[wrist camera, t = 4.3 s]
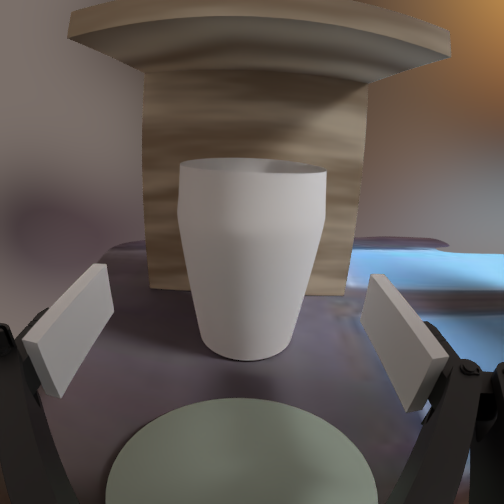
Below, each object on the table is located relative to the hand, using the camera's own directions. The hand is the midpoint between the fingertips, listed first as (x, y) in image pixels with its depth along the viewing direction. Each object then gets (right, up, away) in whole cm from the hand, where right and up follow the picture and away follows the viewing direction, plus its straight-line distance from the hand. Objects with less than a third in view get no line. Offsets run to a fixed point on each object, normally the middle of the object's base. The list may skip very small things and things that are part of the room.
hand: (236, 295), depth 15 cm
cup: (0, -4, +8) cm, 9 cm away
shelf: (0, -4, +8) cm, 9 cm away
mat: (0, -9, -4) cm, 10 cm away
